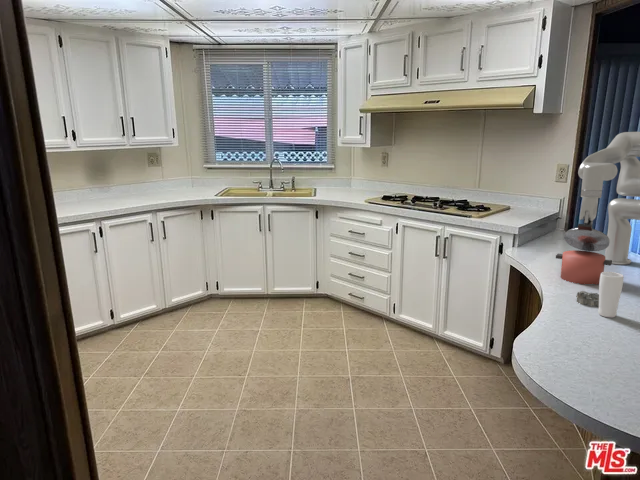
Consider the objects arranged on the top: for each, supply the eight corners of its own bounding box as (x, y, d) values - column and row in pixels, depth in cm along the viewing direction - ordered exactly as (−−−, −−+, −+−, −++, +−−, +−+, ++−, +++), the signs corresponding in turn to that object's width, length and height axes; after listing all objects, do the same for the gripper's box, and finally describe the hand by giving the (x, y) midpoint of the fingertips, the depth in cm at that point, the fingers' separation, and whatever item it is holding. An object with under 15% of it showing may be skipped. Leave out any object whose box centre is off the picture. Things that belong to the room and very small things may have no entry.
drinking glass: (622, 319, 148) (627, 277, 145) (600, 318, 150) (605, 277, 146) (613, 311, 155) (618, 271, 152) (592, 311, 156) (597, 271, 153)
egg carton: (574, 304, 164) (575, 293, 163) (576, 298, 170) (577, 288, 169) (608, 309, 158) (609, 298, 157) (609, 303, 164) (610, 292, 163)
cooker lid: (566, 248, 201) (567, 243, 202) (609, 253, 190) (611, 247, 191) (561, 224, 187) (563, 218, 188) (608, 228, 176) (609, 222, 178)
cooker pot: (560, 269, 205) (562, 247, 203) (612, 277, 192) (615, 253, 190) (550, 279, 192) (552, 255, 190) (605, 288, 179) (609, 262, 176)
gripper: (584, 191, 193) (580, 231, 197) (577, 195, 182) (573, 237, 186) (604, 192, 188) (599, 233, 192) (598, 196, 177) (593, 239, 181)
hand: (586, 235), depth 189 cm, fingers closed
